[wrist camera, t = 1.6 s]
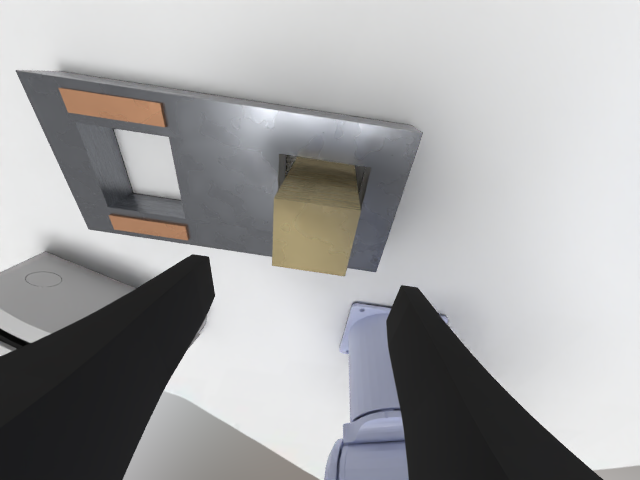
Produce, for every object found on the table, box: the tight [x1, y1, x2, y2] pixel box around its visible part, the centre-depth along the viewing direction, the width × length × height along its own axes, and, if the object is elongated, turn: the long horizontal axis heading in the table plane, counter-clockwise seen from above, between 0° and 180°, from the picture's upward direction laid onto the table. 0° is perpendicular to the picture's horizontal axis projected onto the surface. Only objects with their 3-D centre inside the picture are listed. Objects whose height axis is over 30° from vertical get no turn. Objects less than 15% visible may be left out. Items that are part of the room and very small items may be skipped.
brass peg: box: [272, 157, 361, 276], centre depth 15 cm, size 4×4×7 cm
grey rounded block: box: [0, 252, 207, 356], centre depth 23 cm, size 17×5×10 cm, turn 60°
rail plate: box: [16, 70, 423, 272], centre depth 17 cm, size 22×10×3 cm, turn 83°
